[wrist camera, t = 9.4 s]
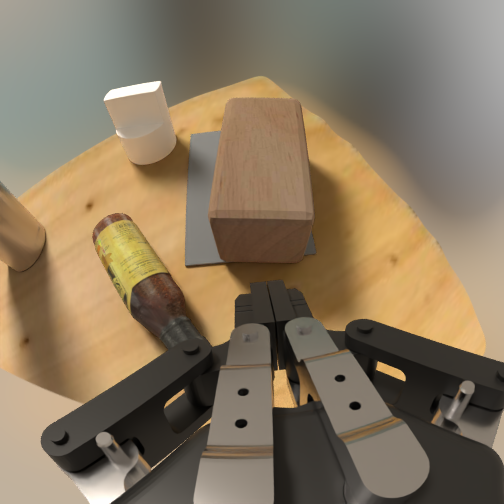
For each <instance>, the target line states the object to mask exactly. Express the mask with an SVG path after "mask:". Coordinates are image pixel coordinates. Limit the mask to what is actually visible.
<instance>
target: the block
mask: <svg viewBox="0 0 504 504" xmlns="http://www.w3.org/2000/svg"><path fill="white" fill-rule="evenodd" d="M208 219H209V222H210V226H211V229H212V233H213V236H214V240H215V243H216V247H217V250H218V254H219V256H220V259H221V260H224V261H227V262H269V263H297V262H300V261H302V258H303V256H304V253H305V250H306V246H307V243H308V240H309V236H310V233H311V230H312V226H313V223H314V219H315V213H314V203H313V193H312V183H311V175H310V166H309V158H308V150H307V143H306V135H305V128H304V121H303V115H302V108H301V105H300V102H299V101H298V100H296V99H287V98H232V99H229V100H228V101H227V103H226V107H225V112H224V117H223V123H222V128H221V134H220V140H219V145H218V151H217V157H216V163H215V170H214V176H213V182H212V189H211V196H210V203H209V210H208Z"/></svg>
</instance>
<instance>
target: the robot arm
mask: <svg viewBox="0 0 504 504" xmlns="http://www.w3.org/2000/svg"><path fill="white" fill-rule="evenodd" d="M44 242H45V229H44V227H43V226H42V225H41V224H40V223H39V222H38V221H37V220H36V219H35V217H34V216H33V215H32V214H31V213H30V212H29V211H28V210H27V209H26V208H25V207H24V206H23V205H22V204H21V203H20V202H19V201H18V200H17V199H16V198H15V197H14V195H13V194H12V193H11V192H10V191H9V190H8V189H7V188H6V187H5V185H4V184H3V183H2V182H1V181H0V260H1V261H3V262H4V263H6V264H7V265H8V266H10V267H11V268H13V269H14V270H16V271H24V270H26V269H28V268H29V267H30V266H32V265H33V264H34V262H35V261H36V260H37V258H38V257H39V255H40V253H41V251H42V249H43V246H44ZM250 288H251V294H241V295H239V296H238V297H237V298H236V300H235V329H234V330H233V331H232V333H231V336H230V340H229V341H227V342H225V343H223V344H221V345H218V346H214V347H211V346H210V344H209V343H208V342H207V341H205V340H202V339H189V340H185V341H182V342H180V343H179V344H177V345H175V346H174V347H172V348H171V349H169V350H168V351H166V352H165V353H163V354H162V355H160V356H159V357H157V358H156V359H154V360H153V361H151V362H150V363H148V364H147V365H145V366H144V367H142V368H141V369H139V370H138V371H136V372H135V373H133V374H131V375H130V376H128V377H127V378H125V379H124V380H122V381H121V382H119V383H117V384H116V385H114V386H113V387H111V388H109V389H108V390H106V391H105V392H103V393H102V394H100V395H98V396H97V397H95V398H94V399H92V400H90V401H89V402H87V403H85V404H84V405H82V406H81V407H79V408H77V409H76V410H74V411H72V412H71V413H69V414H68V415H66V416H64V417H62V418H61V419H59V420H57V421H56V422H54V423H52V424H51V425H49V426H48V427H47V428H46V429H45V430H44V432H43V434H42V436H41V445H42V448H43V449H44V451H45V452H46V453H47V454H48V455H49V456H50V457H51V458H52V459H53V460H54V461H55V462H56V464H57V465H58V467H59V468H60V469H61V470H62V471H63V472H64V473H65V474H66V475H67V476H68V477H69V478H70V479H71V480H73V481H74V483H75V484H76V485H77V487H78V488H79V489H80V491H81V492H82V493H83V495H84V496H85V497H86V499H87V500H88V501H89V503H90V504H504V465H503V463H502V460H501V458H500V457H499V455H498V454H497V453H496V452H495V451H494V450H493V449H492V446H493V442H494V439H495V436H496V433H497V429H498V426H499V422H500V418H501V415H502V412H503V411H504V363H503V362H500V361H496V360H493V359H489V358H486V357H483V356H480V355H477V354H473V353H470V352H467V351H464V350H461V349H457V348H454V347H451V346H448V345H445V344H442V343H439V342H436V341H433V340H430V339H426V338H423V337H420V336H417V335H414V334H411V333H408V332H405V331H402V330H399V329H396V328H393V327H390V326H387V325H385V324H382V323H379V322H376V321H373V320H368V319H358V320H354V321H352V322H350V323H349V324H348V325H347V326H346V329H345V331H331V330H326V329H325V328H324V326H323V325H322V323H321V322H320V321H318V320H316V319H314V318H313V316H312V314H311V312H310V310H309V307H308V305H307V303H306V301H305V299H304V296H303V294H302V293H301V292H300V291H298V290H297V289H286V287H285V285H284V282H283V280H274V281H267V285H266V281H265V282H256V283H250ZM277 360H278V365H279V370H283V369H286V373H287V385H288V388H289V391H290V394H291V398H292V401H293V404H294V407H295V408H279V407H274V386H273V381H274V378H275V376H274V371H276V370H278V366H277ZM378 361H379V362H382V363H384V364H387V365H389V366H392V367H394V368H397V369H399V370H401V371H402V372H403V373H404V374H405V376H406V381H402V380H400V379H397V378H395V377H392V376H390V375H387V374H385V373H382V372H380V371H378V370H376V367H377V362H378ZM182 389H184V391H185V393H184V394H182V395H181V396H180V397H178V398H177V399H176V400H175V401H173V402H172V403H171V404H169V405H168V406H167V407H166V408H164V406H165V404H166V402H167V401H168V400H169V399H171V398H172V397H173V396H174V395H176V394H177V393H178V392H180V391H181V390H182ZM211 417H212V418H211ZM210 418H211V423H209V424H207V425H205V426H204V427H202V428H200V427H201V426H202V425H204V424H205V423H206V422H207V421H208V420H209V419H210ZM199 428H200V429H199ZM198 429H199V430H198ZM194 432H195V433H194ZM186 439H187V440H186ZM185 440H186V441H185ZM184 441H185V442H184ZM183 442H184V443H183ZM180 444H182V445H180ZM179 445H180V446H179ZM178 446H179V447H178ZM177 447H178V448H177ZM176 448H177V449H176ZM174 449H176V450H175V451H174V452H172V451H173V450H174ZM171 452H172V453H171ZM169 453H171V454H170V455H169V456H168V457H167V458H166V459H164V460H163V461H162V462H161V463H160V464H159V465H157V466H156V467H155V468H154V469H153V470H152V471H151V468H152V467H153V466H155V465H156V464H157V463H158V462H159V461H161V460H162V459H163V458H165V457H166V456H167V455H168V454H169Z"/></svg>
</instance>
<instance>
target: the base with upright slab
mask: <svg viewBox="0 0 504 504" xmlns="http://www.w3.org/2000/svg"><path fill="white" fill-rule="evenodd" d="M104 103H105V105H106V107H107V110H108V112H109V114H110V117H111V119H112V121H113V123H114V126H115V128H116V133H117V135H118V137H119V139H120V141H121V144H122V146H123V148H124V150H125V152H126V154H127V156H128V158H129V160H130V161H131V162H133V163H134V164H138V165H147V164H152V163H155V162H157V161H159V160H161V159H163V158H165V157H166V156H167V155H168V154H170V153H171V151H172V150H173V149H174V147H175V145H176V140H177V139H176V136H175V132H174V129H173V125H172V122H171V118H170V114H169V111H168V107H167V104H166V100H165V96H164V92H163V89H162V85H161V81H157V82H151V83H144V84H139V85H133V86H128V87H123V88H118V89H113V90H111V91H110V92H109V93H108V94H107V95H106V96H105V98H104Z"/></svg>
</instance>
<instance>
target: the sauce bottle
mask: <svg viewBox="0 0 504 504" xmlns="http://www.w3.org/2000/svg"><path fill="white" fill-rule="evenodd" d="M93 242H94V245H95V249H96V252H97V254H98V256H99V258H100V260H101V262H102V264H103V265H104V267H105V269H106V271H107V273H108V275H109V277H110V279H111V281H112V282H113V284H114V286H115V288H116V290H117V292H118V293H119V295H120V297H121V298H122V300H123V302H124V304H125V305H126V307H127V308H128V310H129V312H130V313H131V315H132V316H133V318H134V319H136V320H137V321H138V322H139V323H141V324H142V325H143V326H144V327H145V328H147V329H148V330H149V331H151V332H152V333H153V334H154V335H156V336H157V337H158V338H160V340H161V341H162V342H163V343H164V344H165V346H166V347H167V349H168V350H169V349H171V348H172V347H174V346H175V345H177V344H179V343H180V342H182V341H185V340H189V339H202V340H205V341H207V342H208V340H207V339H206V338H205V337H203V336H201V334H200V333H199V332H198V331H197V329H196V328H195V327H194V325H193V324H192V323H191V320H190V319H189V318H188V317H186V311H185V300H184V296H183V293H182V291H181V290H180V288H179V287H178V286H177V285H176V283H175V282H174V280H173V279H172V277H171V275H170V273H169V272H168V270H167V269H166V267H165V266H164V265H163V263H162V262H161V260H160V259H159V257H158V256H157V255H156V253H155V252H154V250H153V249H152V247H151V246H150V244H149V243H148V241H147V240H146V238H145V237H144V236H143V234H142V233H141V231H140V230H139V228H138V226H137V225H136V224H135V223H134V222H133V221H132V219H131V218H130V217H129V216H128V215H126V214H119V213H115V214H112V215H108V216H107V217H105V218H104V219H102V220H101V221H100V222H99V223H98V224H97V225H96V227H95V229H94V231H93ZM208 343H209V342H208ZM209 344H210V343H209ZM210 346H211V344H210ZM211 347H212V346H211Z"/></svg>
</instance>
